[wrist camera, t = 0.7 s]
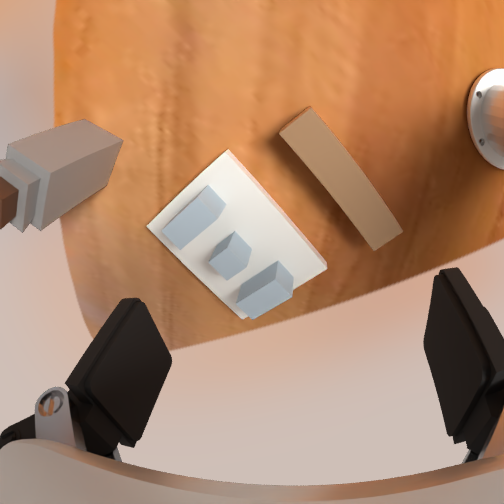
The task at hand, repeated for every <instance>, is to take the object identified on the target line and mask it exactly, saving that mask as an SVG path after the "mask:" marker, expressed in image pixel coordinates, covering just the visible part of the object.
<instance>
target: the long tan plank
mask: <svg viewBox="0 0 504 504" xmlns="http://www.w3.org/2000/svg"><path fill="white" fill-rule="evenodd" d="M279 134H280V136H281V137H282V138H283V139H284V140H285V141H286V142H287V143H288V145H289V146H290V147H291V148H292V149H293V150H294V151H295V153H296V154H297V155H298V156H299V157H300V158H301V160H302V161H303V162H304V163H305V164H306V165H307V167H308V168H309V169H310V170H311V171H312V173H313V174H314V175H315V176H316V177H317V179H318V180H319V181H320V182H321V183H322V185H323V186H324V187H325V188H326V190H327V191H328V192H329V193H330V195H331V196H332V197H333V198H334V200H335V201H336V202H337V203H338V205H339V206H340V207H341V208H342V210H343V211H344V212H345V214H346V215H347V216H348V217H349V219H350V220H351V221H352V223H353V224H354V225H355V227H356V228H357V229H358V231H359V232H360V233H361V235H362V236H363V237H364V239H365V240H366V241H367V243H368V244H369V246H370V247H371V248H372V250H373V251H375V250H377V249H378V248H380V247H381V246H383V245H384V244H386V243H387V242H389V241H390V240H392V239H393V238H395V237H396V236H398V235H399V234H400V233H402V232H403V230H402V228H401V227H400V225H399V223H398V222H397V220H396V219H395V217H394V215H393V214H392V212H391V211H390V209H389V208H388V206H387V205H386V203H385V202H384V201H383V199H382V198H381V196H380V195H379V193H378V192H377V190H376V189H375V188H374V186H373V185H372V183H371V182H370V181H369V179H368V178H367V176H366V175H365V174H364V172H363V171H362V170H361V168H360V167H359V166H358V164H357V163H356V162H355V160H354V159H353V158H352V156H351V155H350V154H349V152H348V151H347V150H346V149H345V147H344V146H343V145H342V143H341V142H340V141H339V140H338V138H337V137H336V136H335V135H334V134H333V132H332V131H331V130H330V129H329V127H328V126H327V125H326V124H325V123H324V121H323V120H322V119H321V118H320V117H319V115H318V114H317V113H316V112H315V111H314V110H313V109H312V107H311V106H309V107H308V108H306V109H305V110H304V111H303V112H301V113H300V114H299V115H298V116H296V117H295V118H294V119H293V120H291V121H290V122H289V123H288V124H287V125H285V126H284V127H283V128H282V129H281V130H280V133H279Z"/></svg>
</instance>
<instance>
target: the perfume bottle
mask: <svg viewBox="0 0 504 504" xmlns="http://www.w3.org/2000/svg"><path fill="white" fill-rule="evenodd" d="M122 143H123V140H122V139H120V138H118V137H117V136H115V135H113V134H111V133H109V132H108V131H106V130H104V129H102V128H100V127H98V126H97V125H95V124H93V123H91V122H89V121H87V120H85V119H83V120H79V121H76V122H72V123H69V124H65V125H62V126H59V127H56V128H52V129H49V130H47V131H43V132H40V133H38V134H34V135H32V136H29V137H26V138H23V139H20V140H18V141H15V142H13V143H10V144H8V147H7V153H6V159H1V160H0V229H2V228H3V227H4V226H5V225H6V224H7V223H9V222H10V223H11V224H12V225H13V226H15V227H16V228H17V229H18V230H20V231H21V232H22V233H23V232H24V230H25V229H26V228H27V226H28V225H29V224H30V223H31V224H32V225H33V226H35V227H36V228H37V229H39V230H40V231H41V230H43V229H44V228H45V227H47V226H48V225H49V224H51V223H52V222H54V221H55V220H56V219H58V218H59V217H61V216H62V215H63V214H65V213H66V212H68V211H69V210H70V209H72V208H73V207H75V206H76V205H78V204H79V203H81V202H82V201H84V200H85V199H87V198H88V197H90V196H91V195H93V194H94V193H96V192H97V191H99V190H100V189H102V188H104V187H105V186H107V184H108V181H109V178H110V175H111V172H112V170H113V167H114V164H115V161H116V159H117V156H118V153H119V151H120V148H121V145H122Z"/></svg>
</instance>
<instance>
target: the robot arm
mask: <svg viewBox="0 0 504 504" xmlns="http://www.w3.org/2000/svg"><path fill="white" fill-rule="evenodd" d="M476 93H477V96H476ZM467 121H468V128H469V131H470V135H471V138H472V140H473V142H474V145H475V147H476V148H477V150H478V151H479V153H480V154H481V155H482V156H483V158H484V159H485V160H486V161H488V162H489V163H490V164H492V165H494V166H496V167H497V168H500V169H503V170H504V69H503V68H494V69H490V70H487V71H485V72H484V73H483V74H481V75H480V76H479V77H478V78H477V80H476V81H475V82H474V84H473V86H472V88H471V91H470V94H469V97H468V104H467ZM479 140H480V141H479ZM424 350H425V353H426V357H427V360H428V363H429V366H430V370H431V373H432V377H433V380H434V383H435V387H436V391H437V394H438V398H439V402H440V406H441V410H442V414H443V418H444V422H445V427H446V431H447V434H448V436H453V440H454V444H456V443H460V442H464V441H466V444H467V448H468V449H469V451H468V453H467V455H466V456H465V458H464V460H463V462H462V464H459V465H455V466H451V467H447V468H443V469H438V470H434V471H429V472H424V473H419V474H414V475H409V476H403V477H396V478H390V479H383V480H376V481H368V482H359V483H348V484H334V485H309V486H280V485H257V484H242V483H231V482H222V481H214V480H206V479H199V478H193V477H186V476H181V475H175V474H170V473H165V472H161V471H156V470H151V469H147V468H143V467H139V466H135V465H131V464H127V463H123V462H122V460H121V457H120V454H119V451H118V448H117V445H118V443H119V442H120V444H121V445H125V446H129V447H133V448H134V447H135V444H136V442H137V441H138V440H140V438H141V437H142V434H143V432H144V430H145V427H146V425H147V422H148V420H149V417H150V415H151V412H152V410H153V408H154V405H155V403H156V400H157V398H158V395H159V393H160V391H161V388H162V386H163V384H164V381H165V379H166V377H167V374H168V372H169V370H170V367H171V364H172V357H171V355H170V353H169V351H168V349H167V347H166V345H165V343H164V341H163V339H162V337H161V335H160V333H159V331H158V329H157V327H156V325H155V323H154V321H153V319H152V317H151V315H150V313H149V311H148V309H147V307H146V305H145V303H144V302H141V300H140V299H139V298H125V299H122V300H121V301H120V302H119V304H118V305H117V307H116V308H115V309H114V311H113V312H112V314H111V315H110V316H109V318H108V319H107V321H106V322H105V324H104V325H103V326H102V328H101V329H100V331H99V332H98V334H97V335H96V337H95V338H94V340H93V341H92V342H91V344H90V345H89V347H88V348H87V350H86V351H85V353H84V354H83V356H82V357H81V359H80V360H79V362H78V364H77V365H76V367H75V368H74V370H73V371H72V373H71V375H70V376H69V378H68V379H67V381H66V382H65V384H66V385H67V386H68V388H69V389H70V390H69V391H68V393H67V391H66V390H65V389H63V388H61V387H53V388H50V389H48V390H47V391H45V392H44V393H43V394H42V395H41V396H40V397H39V398H38V400H37V402H36V405H35V414H34V415H32V416H30V417H28V418H26V419H24V420H22V421H20V422H18V423H15V424H13V425H11V426H9V427H8V428H7V429H5V430H4V431H3V432H2V433H1V435H0V504H504V338H503V337H502V335H501V333H500V331H499V329H498V327H497V326H496V324H495V322H494V320H493V319H492V317H491V315H490V313H489V312H488V310H487V309H486V308H485V307H483V305H482V304H481V302H480V301H479V299H478V297H477V296H476V294H475V293H474V291H473V289H472V288H471V286H470V284H469V283H468V281H467V280H466V278H465V277H464V275H463V274H462V273H461V271H460V269H459V268H457V267H456V268H450V269H443V270H440V272H439V275H436V276H435V277H434V281H433V289H432V296H431V303H430V309H429V314H428V320H427V325H426V330H425V335H424Z"/></svg>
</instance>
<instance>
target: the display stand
mask: <svg viewBox="0 0 504 504" xmlns="http://www.w3.org/2000/svg"><path fill="white" fill-rule="evenodd" d="M146 227H147V228H148V229H149V230H150V231H151V232H152V233H153V234H154V235H155V236H156V237H157V238H158V239H159V240H160V241H161V242H162V243H163V244H164V245H165V246H166V247H167V248H168V249H169V250H170V251H171V252H172V253H173V254H174V255H175V256H176V257H177V258H178V259H179V260H180V261H181V262H182V263H183V264H184V265H185V266H186V267H187V268H188V269H189V270H190V271H191V272H192V273H194V274H195V275H196V276H197V277H198V278H199V279H200V280H201V281H202V282H203V283H204V284H205V285H206V286H207V287H208V288H209V289H210V290H211V291H212V292H213V293H214V294H215V295H216V296H218V297H219V298H220V299H221V300H222V301H223V302H224V303H225V304H226V305H227V306H228V307H229V308H230V309H231V310H232V311H234V312H235V313H236V314H237V315H238V316H239V317H240V318H241V319H242V320H243V319H244V318H246V317H248V316H249V317H250V318H251V319H252V320H253V319H255V318H257V317H259V316H260V315H262V314H264V313H266V312H267V311H269V310H271V309H273V308H274V307H276V306H278V305H279V304H281V303H283V302H285V301H286V300H288V299H290V298H291V297H292V293H293V290H294V289H295V288H297V287H299V286H300V285H302V284H304V283H305V282H307V281H308V280H310V279H312V278H313V277H315V276H317V275H318V274H320V273H321V272H323V271H325V270H326V269H327V262H326V261H325V260H324V258H323V257H322V256H321V255H320V254H319V252H318V251H317V250H316V249H315V248H314V246H313V245H312V244H311V243H310V242H309V240H308V239H307V238H306V237H305V236H304V234H303V233H302V232H301V231H300V230H299V229H298V227H297V226H296V225H295V224H294V223H293V222H292V220H291V219H290V218H289V217H288V216H287V215H286V213H285V212H284V211H283V210H282V209H281V208H280V206H279V205H278V204H277V203H276V202H275V201H274V200H273V198H272V197H271V196H270V195H269V194H268V193H267V192H266V190H265V189H264V188H263V187H262V186H261V185H260V184H259V183H258V181H257V180H256V179H255V178H254V177H253V176H252V175H251V174H250V173H249V171H248V170H247V169H246V168H245V167H244V166H243V165H242V164H241V163H240V161H239V160H238V159H237V158H236V157H235V156H234V155H233V154H232V153H231V152H230V151H229V149H227V150H226V151H225V152H224V153H223V154H222V155H221V156H220V157H218V158H217V159H216V160H215V161H214V162H213V163H212V164H211V165H210V166H208V167H207V168H206V169H205V170H204V171H203V172H202V173H201V174H200V175H199V176H198V177H197V178H195V179H194V180H193V181H192V182H191V183H190V184H189V185H188V186H187V187H186V188H185V189H184V190H183V191H182V192H181V193H180V194H179V195H178V196H176V197H175V198H174V199H173V200H172V201H171V202H170V203H169V204H168V205H167V206H166V207H165V208H164V209H163V210H162V211H161V212H160V213H159V214H158V215H157V216H156V217H155V218H154V219H153V220H152V221H151V222H150V223H149V224H148V225H147V226H146Z"/></svg>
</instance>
